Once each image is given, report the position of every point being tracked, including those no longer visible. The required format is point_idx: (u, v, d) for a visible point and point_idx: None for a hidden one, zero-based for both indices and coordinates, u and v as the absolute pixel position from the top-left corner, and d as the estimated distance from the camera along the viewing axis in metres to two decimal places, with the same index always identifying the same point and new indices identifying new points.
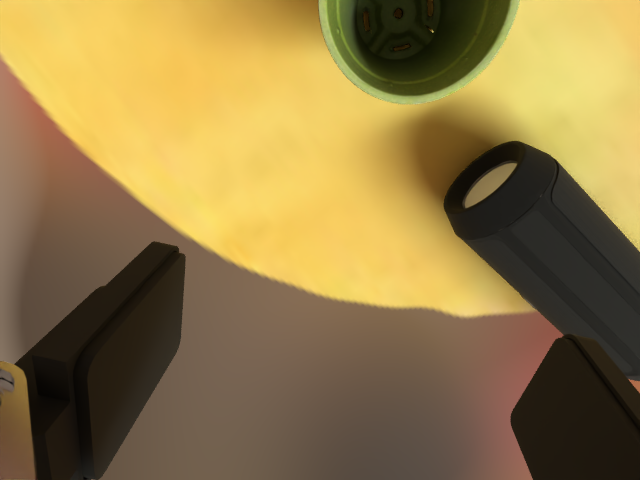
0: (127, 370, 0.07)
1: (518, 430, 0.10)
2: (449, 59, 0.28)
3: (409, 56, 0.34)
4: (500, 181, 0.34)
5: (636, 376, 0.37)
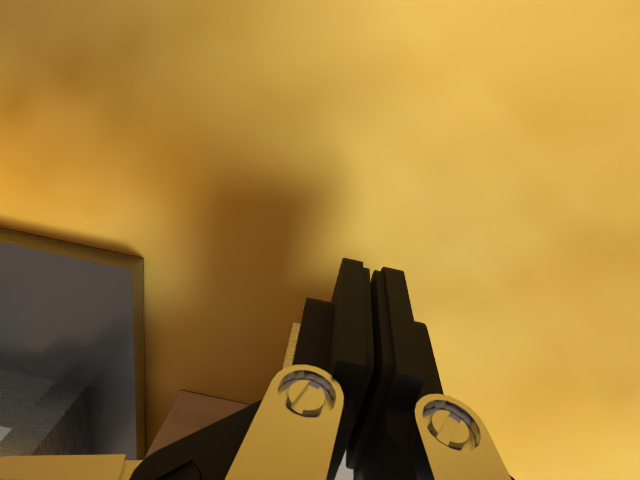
0: None
1: None
2: None
3: None
4: None
5: None
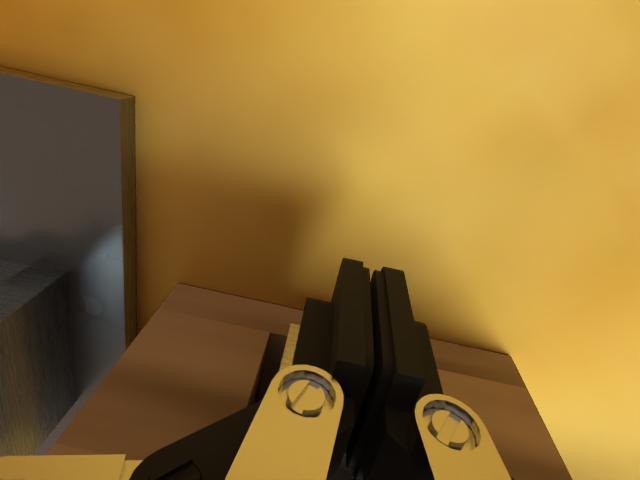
0: None
1: None
2: None
3: None
4: None
5: None
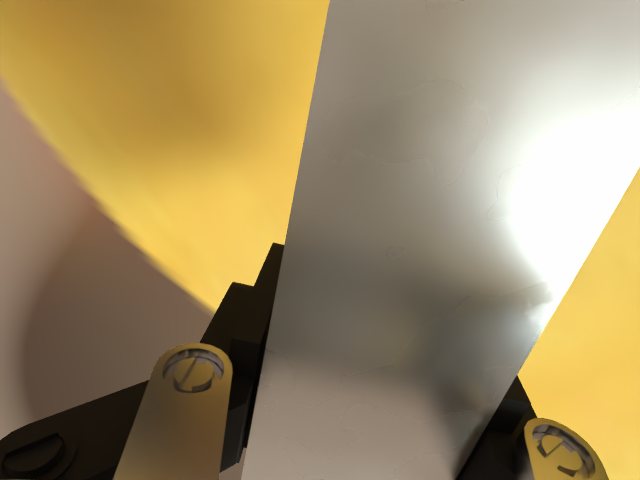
0: None
1: None
2: None
3: None
4: None
5: None
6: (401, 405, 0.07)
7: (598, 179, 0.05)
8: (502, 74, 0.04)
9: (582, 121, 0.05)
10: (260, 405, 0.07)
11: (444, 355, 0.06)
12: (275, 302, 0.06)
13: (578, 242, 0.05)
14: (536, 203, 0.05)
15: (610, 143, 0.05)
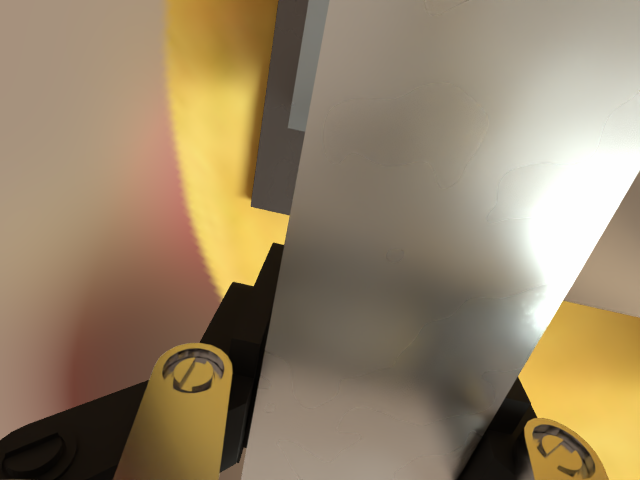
0: None
1: None
2: None
3: None
4: None
5: None
6: (400, 407, 0.07)
7: (598, 183, 0.05)
8: (502, 76, 0.04)
9: (582, 124, 0.05)
10: (260, 408, 0.07)
11: (444, 357, 0.06)
12: (274, 304, 0.06)
13: (578, 245, 0.05)
14: (535, 206, 0.05)
15: (611, 146, 0.05)
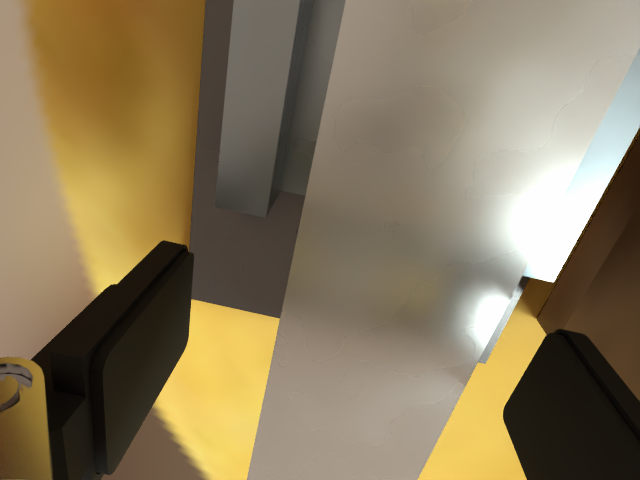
0: (139, 367, 0.07)
1: (510, 424, 0.10)
2: None
3: None
4: None
5: None
6: (396, 360, 0.08)
7: (552, 166, 0.06)
8: (476, 82, 0.06)
9: (538, 118, 0.06)
10: (276, 362, 0.08)
11: (432, 315, 0.07)
12: (291, 269, 0.07)
13: (539, 217, 0.06)
14: (504, 185, 0.06)
15: (560, 136, 0.06)
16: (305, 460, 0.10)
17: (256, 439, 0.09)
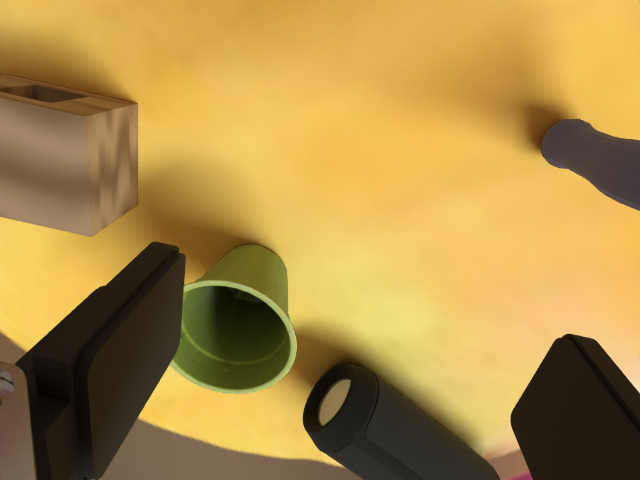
0: (127, 370, 0.07)
1: (518, 430, 0.10)
2: (272, 345, 0.37)
3: None
4: (340, 402, 0.42)
5: None
6: None
7: None
8: None
9: None
10: None
11: None
12: None
13: None
14: None
15: None
16: None
17: None
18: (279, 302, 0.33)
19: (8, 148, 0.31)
